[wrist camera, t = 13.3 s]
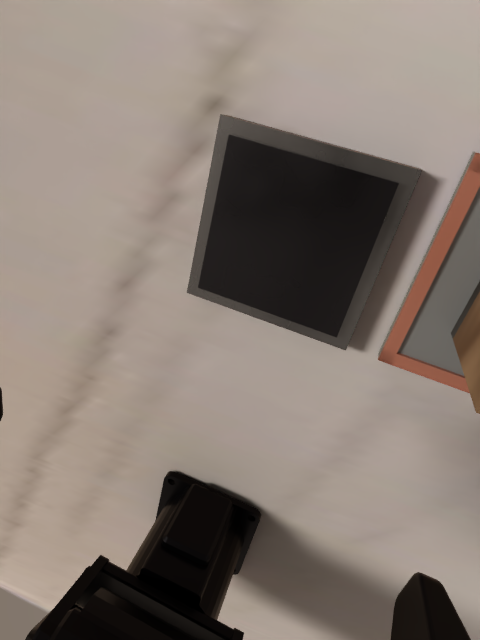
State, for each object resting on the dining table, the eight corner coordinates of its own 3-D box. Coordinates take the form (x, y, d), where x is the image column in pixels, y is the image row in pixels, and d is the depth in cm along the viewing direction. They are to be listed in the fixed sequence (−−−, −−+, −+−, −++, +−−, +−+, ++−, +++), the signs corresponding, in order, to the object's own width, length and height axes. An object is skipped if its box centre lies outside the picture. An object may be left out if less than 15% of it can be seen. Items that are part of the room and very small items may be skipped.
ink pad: (347, 342, 20) (345, 353, 19) (193, 287, 21) (184, 294, 20) (420, 168, 16) (422, 171, 15) (227, 115, 17) (217, 114, 16)
